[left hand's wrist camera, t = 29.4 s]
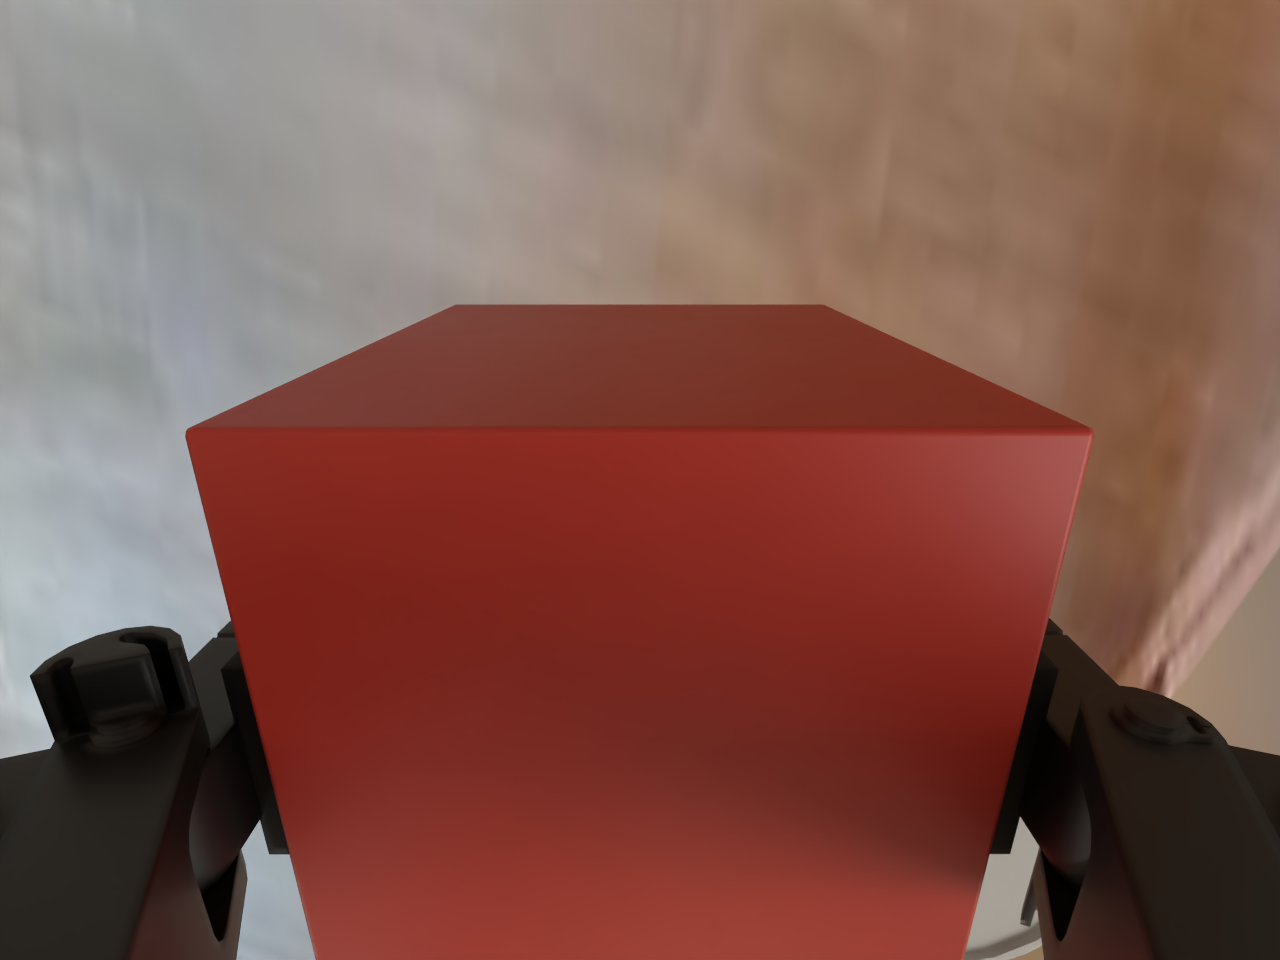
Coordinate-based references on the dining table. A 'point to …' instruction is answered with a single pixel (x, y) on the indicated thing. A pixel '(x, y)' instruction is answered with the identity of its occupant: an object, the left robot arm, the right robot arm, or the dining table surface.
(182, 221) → the dining table surface
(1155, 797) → the left robot arm
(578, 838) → the brick
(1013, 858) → the disposable coffee cup
